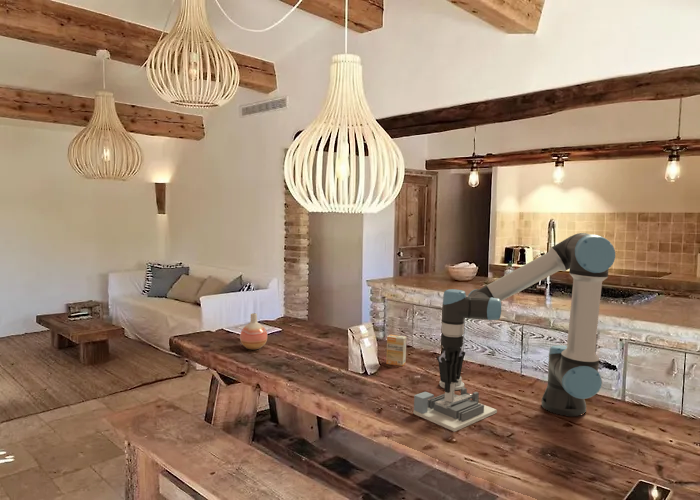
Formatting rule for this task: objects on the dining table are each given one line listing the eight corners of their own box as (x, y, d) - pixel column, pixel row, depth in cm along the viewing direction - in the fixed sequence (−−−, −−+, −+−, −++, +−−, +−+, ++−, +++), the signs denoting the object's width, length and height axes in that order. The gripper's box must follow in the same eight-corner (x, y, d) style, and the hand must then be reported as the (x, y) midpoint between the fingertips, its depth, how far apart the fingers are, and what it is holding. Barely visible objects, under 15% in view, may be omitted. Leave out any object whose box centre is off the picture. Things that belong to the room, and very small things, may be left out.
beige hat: (439, 389, 203) (464, 391, 201) (439, 378, 203) (465, 381, 201) (439, 381, 213) (463, 383, 211) (440, 370, 212) (464, 372, 210)
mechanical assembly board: (496, 412, 181) (497, 395, 180) (454, 431, 165) (455, 412, 164) (456, 397, 194) (456, 381, 194) (413, 413, 179) (413, 396, 178)
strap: (476, 399, 183) (476, 395, 183) (446, 409, 172) (446, 405, 172) (464, 395, 187) (465, 391, 187) (435, 405, 176) (435, 401, 176)
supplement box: (385, 364, 233) (386, 336, 232) (389, 361, 238) (389, 334, 236) (403, 366, 230) (403, 338, 229) (406, 363, 235) (406, 336, 233)
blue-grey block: (433, 409, 179) (433, 394, 179) (422, 413, 176) (422, 398, 175) (424, 405, 182) (425, 391, 182) (413, 410, 179) (414, 395, 178)
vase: (273, 347, 258) (273, 313, 256) (254, 353, 246) (254, 318, 245) (253, 342, 265) (253, 309, 263) (234, 349, 254) (234, 314, 252)
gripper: (455, 329, 182) (452, 393, 184) (431, 334, 174) (428, 401, 176) (473, 333, 176) (469, 399, 179) (448, 339, 168) (445, 408, 170)
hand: (449, 400), depth 177 cm, fingers closed
